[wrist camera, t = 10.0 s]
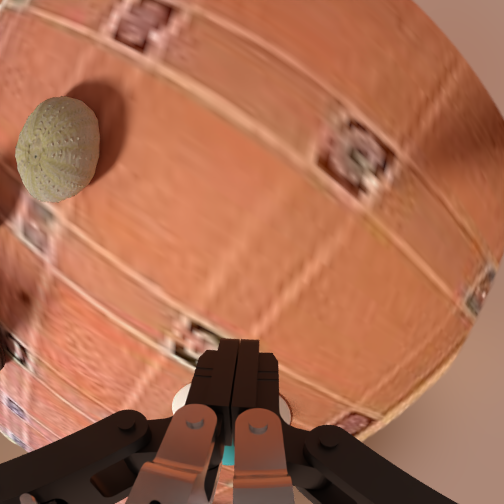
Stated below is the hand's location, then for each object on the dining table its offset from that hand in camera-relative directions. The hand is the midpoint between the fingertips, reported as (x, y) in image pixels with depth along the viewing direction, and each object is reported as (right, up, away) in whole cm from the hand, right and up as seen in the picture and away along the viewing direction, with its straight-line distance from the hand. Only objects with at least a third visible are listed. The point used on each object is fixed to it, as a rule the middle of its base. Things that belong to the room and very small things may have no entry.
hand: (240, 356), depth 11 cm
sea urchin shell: (-16, +14, +11) cm, 24 cm away
